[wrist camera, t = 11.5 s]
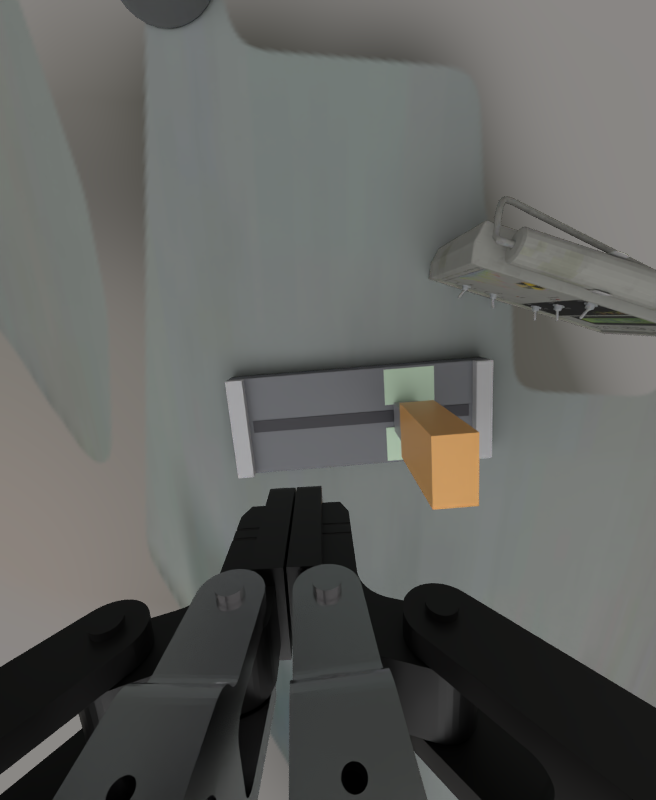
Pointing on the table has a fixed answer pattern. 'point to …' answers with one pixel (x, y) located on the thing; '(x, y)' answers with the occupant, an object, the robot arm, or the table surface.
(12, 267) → the table surface
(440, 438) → the panel
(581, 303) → the geiger counter
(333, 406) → the console
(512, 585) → the table surface
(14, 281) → the table surface
